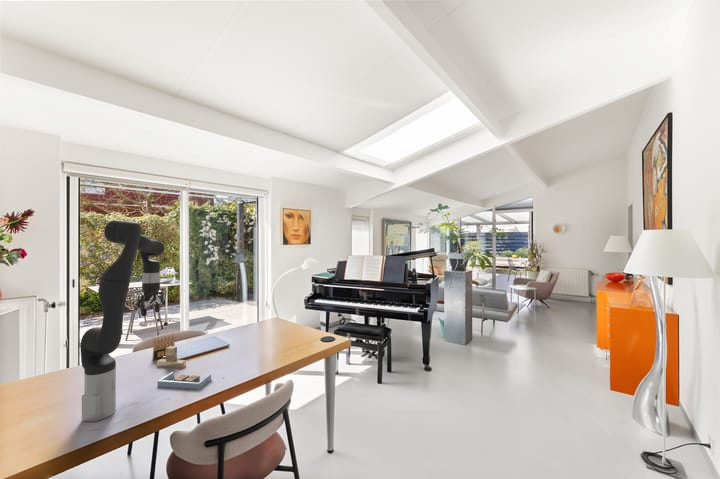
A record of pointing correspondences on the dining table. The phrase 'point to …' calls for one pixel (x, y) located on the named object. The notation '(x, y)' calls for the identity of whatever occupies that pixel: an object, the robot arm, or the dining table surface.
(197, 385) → the tray
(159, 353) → the ammunition clip
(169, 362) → the wooden base with post
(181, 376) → the block
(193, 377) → the block
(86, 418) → the robot arm
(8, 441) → the dining table surface
